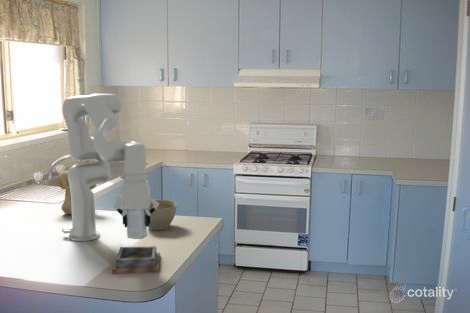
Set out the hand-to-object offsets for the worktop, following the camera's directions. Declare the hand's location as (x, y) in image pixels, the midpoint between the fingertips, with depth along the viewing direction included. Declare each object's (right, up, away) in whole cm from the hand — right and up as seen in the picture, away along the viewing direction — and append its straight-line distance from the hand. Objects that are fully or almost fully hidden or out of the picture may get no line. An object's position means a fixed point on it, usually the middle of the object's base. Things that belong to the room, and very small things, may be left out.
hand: (136, 225), depth 184 cm
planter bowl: (+1, -7, +48) cm, 49 cm away
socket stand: (0, -15, +3) cm, 15 cm away
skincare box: (0, -5, +1) cm, 5 cm away
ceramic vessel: (-43, -3, +72) cm, 84 cm away
